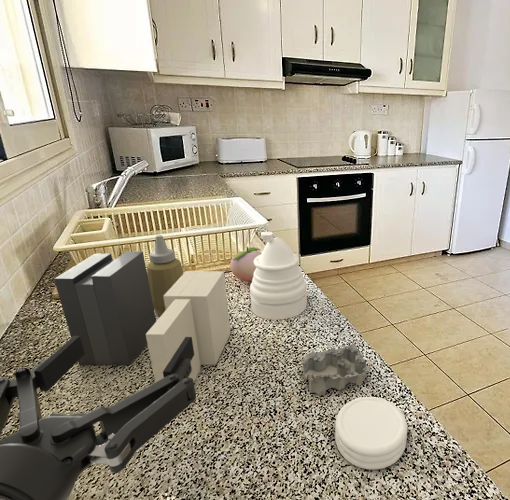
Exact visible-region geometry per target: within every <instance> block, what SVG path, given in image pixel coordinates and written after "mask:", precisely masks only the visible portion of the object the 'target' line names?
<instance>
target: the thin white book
mask: <svg viewBox="0 0 510 500" xmlns="http://www.w3.org/2000/svg"><path fill="white" fill-rule="evenodd" d="M185 337H192V342H193V349H194V356H193V358H192V360H191V367H192V371H191V373H190V375H189V376H188V378H192V379H193V381H194V382H195V381H196V379H197V378H198V376H199V374H200V371H201V369H202V368H201V365H200V360H199V354H198V347H197V340H196V334H195V327H194V320H193V314H192V307H191V301H190V299H175V300H174V301H173V302H172V303H171V305H170V306H169V307H168V308H167V309H166V311H165V312H164V313H163V314H162V315H161V317H160V316H159V318H158V319H156V323H155V324H154V325H153V326H152V327H151V329H150V330H149V331H148V332H147V333H146V339H147V347H148V348H147V349H148V353H149V358H150V362H151V367H152V371H153V376H154V380H155V382H157V381H159V380H161V379H163V378H164V376H163V371H164V369H165V368H166V366H167V365H168V363H169V361H170V360H171V358H172V357H173V355H174V354H175V352H176V351H177V349H178V348H179V346H180V345H181V343H182V342H183V340H184V338H185ZM155 382H154V383H155Z"/></svg>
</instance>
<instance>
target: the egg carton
mask: <svg viewBox="0 0 510 500" xmlns="http://www.w3.org/2000/svg"><path fill="white" fill-rule="evenodd" d="M300 362H301V364H302V376H303V379H304V381H306V380H308V391H309V393H310V394H317V395H318V396H324V395H326V394H327V393H326V392H327V390H330V389H336V390H338V391H341V390H344V389H345V387H346V385H348V384H355V385H356V386H361V385H363V383H364V380H365V379H366V378H367V372H368V371H371V370H370V369H371V368H370V367H369V366H368V365H367V361H366V360H365V359H364V357H363V355H362V353H361V351H360V350H359V349H358V347H357V345H356V344H355V343H351V344H349V345H347V346H343V347H338V348H337V349H336V348H335V347H333V348H330V349H327V350H322V351H319V352H308V353H307V354H306V355H305V356H304V357H302V358H301V360H300Z"/></svg>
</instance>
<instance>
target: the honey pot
mask: <svg viewBox="0 0 510 500" xmlns="http://www.w3.org/2000/svg"><path fill="white" fill-rule="evenodd" d="M273 236H274V233H273V232H272V231H263V232H261V233H260V237H261V239H262V241H264V242H265V243H266V244H265V246H264V247H263V248H262V251H261V252H260V253H261V255H258V256H257V257H256V258H255V259H254V265H255V266H256V270H255V271H254V274H253V275H254V277H253V279H252V281H251V282H250V285H249V293H250V307H251V311H252V313H253V314H254V315H256V316H257V317H259V318H262V319H265V320H270V321H271V320H272V321H279V320H280V321H281V320H287V319H290V318H294V317H296V316H298V315H300V314H302V313H303V312H305V310H306V308H307V307H308V306H307V305H308V292H307V290H308V289H307V282H306V280H305V278H304V275H303V273H302V272H303V271H302V268H301V267H300V266H299V263H300V262H299V261H300V258H299V256H298V255H297V254H296V253H294V252H293V251H292V249H291V248H290V246H289V245H288V244H287V242H286V241H284V239H283V238H280V237H273Z"/></svg>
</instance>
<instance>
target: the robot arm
mask: <svg viewBox="0 0 510 500" xmlns="http://www.w3.org/2000/svg"><path fill="white" fill-rule="evenodd" d="M84 355H85V352H84V349H83V345H82V342H81V338H80V336H73V337H72V338H71V337H70V339H69V340H67V341H66V342H65V343H64V344H63V345H61V347H60V348H58V349H57V350H56V351H55V352H53V354H52V355H50V356H49V357H46V358H44V359H43V360H42V361H40V362H39V363H38V364H37V365H36V366H35V367H33V368H32V369H31V370H30V368H29V367H26V366H25V367H21V368H18V369H17V370H15V371H14V373H13V374H14V377H15V378H14V379H10V378H9V377H7V376H6V377H5V376H4V377H0V436H1V435H2V433H3V430H4V428H5V425H6V422H7V421H8V418H9V415H10V413H11V411H12V407H13V405H14V403H15V400H16V398H17V399H18V400H17V401H18V409H19V412H18V421H19V423H18V424H19V430H17V431H15V432H13V433H11V434H10V435H8V436H6V437H4V438H2V439H0V500H68V499H69V497H70V496H71V494H72V491H73V489H74V487H75V485H76V482H77V480H78V478H79V476H81V474H82V473H83V472H84V471H85V470H87V469H88V468H89V467H91V465H92V466H93V464H100V465H107V466H108V468H109V471H110V472H111V473H112V474H116V473H119V472H121V471H122V470H124V469H125V468H126V466H127V465H128V463H129V462H130V460H131V459H132V458H133V456H134V455H136V452H137V451H138V450H139V449H140V448H142V447H143V446H144V445H145V444H146V443H148V441H150V440H151V439H152V438H153V437H155V436H156V435H157V434H158V433H159V432H161V430H163V429H164V428H165V427H166V426H167V425H168V424H169V423H171V422H172V421H173V420H174V419H175V418H177V416H179V415H180V414H181V413H182V412H183V411H184V410H186V409H188V407H189V406H191V405H192V404H193V403H194V402H195V401H196V400H197V395H196V388H195V381H193V379H192V378H188V376H189V375H190V373H191V371H192V367H191V360H192V358H193V356H194V349H193V342H192V337H185V338H184V340H183V342H182V343H181V345H180V346H179V348H178V349H177V351H176V352H175V354H174V355H173V357H172V358H171V360H170V361H169V363H168V365H167V366H166V368H165V369H164V371H163V376H164V378H163V379H161V380H159V381H157V382H153V383H152V384H149V385H148V386H146V387H144V388H142V389H140V390H138V391H136V392H134V393H132V394H131V395H128V396H127V397H125V398H123V399H121V400H119V401H118V402H115V403H114V404H112V405H109V406H107V407H106V406H99V407H97V408H95V409H93V410H91V411H90V412H87V413H86V412H85V413H82V412H80V413H79V412H77V413H72V414H71V413H70V414H65V413H61V412H59V413H58V412H56V413H55V412H53V413H52V412H51V414H50V415H48V416H44V417H42V412H41V411H42V410H41V406H40V398H39V393H38V389H39V391H40V392H49V391H50V390H51V389H52V388H53V387H54V386H55V384H57V382H59V381H60V380H61V379H62V377H64V376H65V375H66V374H67V373H68V372H69V371H70V369H72V368H73V367H74V366H75V365H76V364H77V363H78V361H79V360H80V359H81V358H82V357H83V356H84ZM98 422H99V424H100V428H101V431H100V433H99V434H97V435H96V429H95V426H94V425H96V424H97V423H98Z"/></svg>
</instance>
